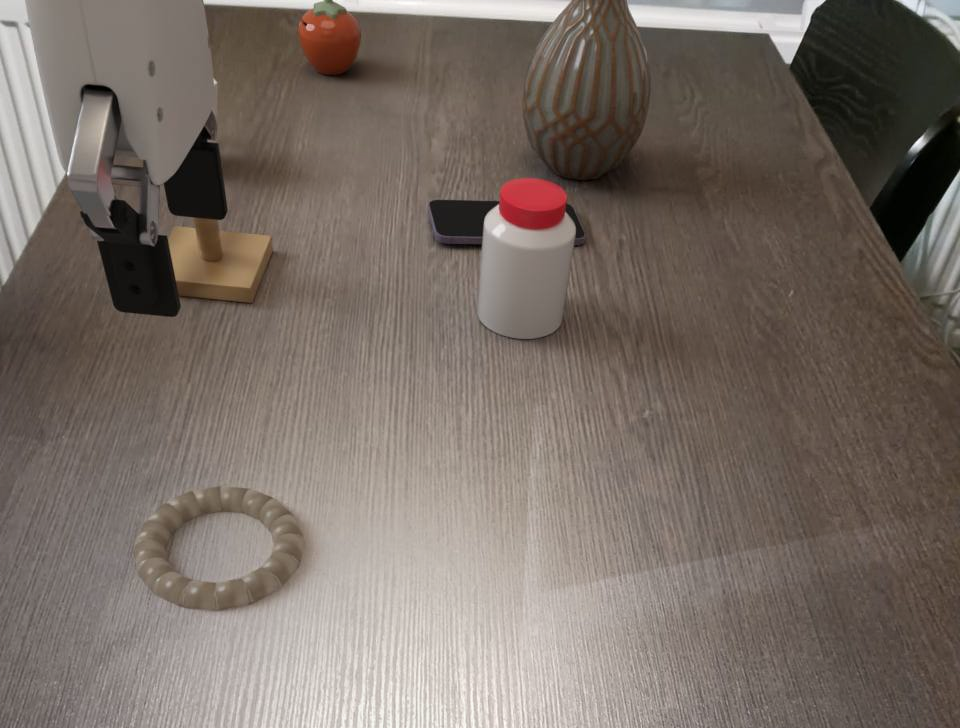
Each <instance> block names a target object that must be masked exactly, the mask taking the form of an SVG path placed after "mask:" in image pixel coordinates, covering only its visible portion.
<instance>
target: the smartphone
mask: <svg viewBox="0 0 960 728" xmlns="http://www.w3.org/2000/svg"><path fill="white" fill-rule="evenodd" d="M498 204H499V200H479V199H478V200H476V199H474V200H471V199H432V200H430V201H429V202H428V205H427V214H428V217H429V220H430V224H431V229H432V232H433V236H434V239H435V240H436V241H437V242H439V243H440V244H441V243H442V244H447V245H482V239H483V226H484V219H485V217H486V215H487V213H488V212H489V211H490V210H491V209H492V208H494V207H495V206H497V205H498ZM565 211H566V213H567V214H568V215H569V216H570V217H571V219H572V220H573V221H574V223H575V226H576V236H575V243H574V247H575V246H576V245H577V246H581V244H582V245H583V244H584V243H585V240H586V232H585V229H584V227H583V225H582V223H581V220H580V218H579V216H578V214H577V212H576V209H575V207H574V206H573V205H572V204H570V203H567V204H566V210H565Z"/></svg>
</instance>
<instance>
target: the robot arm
mask: <svg viewBox="0 0 960 728" xmlns="http://www.w3.org/2000/svg"><path fill="white" fill-rule="evenodd" d="M24 3H25V10H26V15H27V21H28V25H29V31H30V35H31V40H32V45H33V46H32V47H33V52H34V56H35V60H36V65H37V70H38V75H39V80H40V83H41V88H42V93H43V98H44V103H45V107H46V110H47V115H48V120H49V124H50V128H51V132H52V136H53V140H54V144H55V145H54V146H55V149H56V152H57V156H58V160H59V162H60V165H61V167H62V169H63V171H64V172H65V173H66V182H67V186H68V187H67V188H68V189H69V191H70V193H71V195H72V197H73V198H74V199H75V201H76V204H77V205H78V207H79V208H80V210H81V211H79V214H80V217H81V219H82V220H83V222H84V225H85V226H86V227H87V228H89V233H90V236H91V238H92V240H93V241H94V242H96V243H97V246H98V251H99V255H100V258H101V263H102V266H103V271H104V274H105V277H106V281H107V286H108V289H109V295H110V297H111V302H112V305H113V308H114V309H115V310H117V311H118V312H121V313H123V314H124V313H125V314H136V315H145V316H146V315H147V316H156V317H167V318H174V317H175V318H176V317H177V316H178V314H179V312H180V310H181V305H182V304H181V300H180V296H179V294H178V289H177V284H176V279H175V274H174V268H173V263H172V258H171V253H170V248H169V243H168V238H169V237H168V235H166V234H159V223H160V222H159V221H160V220H159V219H160V197H161V196H160V191H161V185H163V188H164V193H165V198H166V199H165V200H166V204H167V208H168V211H169V213H170V214H172V215H173V216H176V217H184V218H185V217H186V218H193V217H194V218H204V219H214V220H218V221H222V220H224V219H225V218H226V216H227V214H228V211H229V209H228V202H227V195H226V187H225V182H224V181H225V180H224V173H223V165H222V159H221V151H220V145H219V143H218V142H216V143H211V142H207V140H215V139H216V140H217V137H218V121H217V122H216V118H215V116H214V114H213V112H212V107H213V102H214V79H215V78H214V67H213V58H212V49H211V43H210V34H209V29H208V28H209V27H208V23H207V22H208V21H207V15H206V10H205V8H206V7H205V3H204V0H24ZM216 136H217V137H216ZM115 157H123V158H124V157H125V158H132V159H133V158H134V159H138V160H139V161H142V163H143V164H142V166H133V165H123V164H114V160H115ZM115 185H116V186H124V187H125V186H126V187H134V188H136V187H137V188H138V212H137V211H136V210H135V209H134V208H133V207H132V206H131V205H130V204H129V203H128V202H127V201H126V200H124V199H118V198H117V196H116V193H117V190H116V189H115V187H114V186H115ZM194 218H193V219H194Z"/></svg>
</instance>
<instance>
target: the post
mask: <svg viewBox="0 0 960 728" xmlns="http://www.w3.org/2000/svg"><path fill="white" fill-rule="evenodd" d="M192 218H193V223H194V227H189V226H188V227H187V226H179V225H175V226H174V227H173V228H172V230H171V232H170V234H169V236H168V237H167V238H168V243H169V248H170V253H171V258H172V263H173V268H174V274H175V279H176V284H177V289H178V294H179V297H189V298H196V299H197V298H198V299H208V300H218V301H228V302H238V303H249V304H253V302H254V299H255V298H256V294H257V292H258V290H259V287H260V284H261V282H262V279H263V276H264V274H265V272H266V269H267V266H268V264H269V262H270V260H271V259H270V258H271V256H272V254H273V251H274V247H273V239H272V235H267V234H255V233H246V232H237V231H227V230H220V226H219V220H214V219H204V218H194V217H192Z"/></svg>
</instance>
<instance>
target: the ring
mask: <svg viewBox="0 0 960 728" xmlns="http://www.w3.org/2000/svg"><path fill="white" fill-rule="evenodd" d="M217 512H228V513H229V512H230V513H239V514H240V513H241V514H244V515H245V516H249V517H250V518H253V519H256V520H258V521H259V522H260V523H262V525H264V526H265V528H266V529H267V530H268V531H269V532H270V534H271V535H270V536H271V538H272V542H273V546H272V550H271V552H270V556H269V557H268V558H266V560H265V561H264V562H263V563H262V564H261V565H260V567H259V568H257V569H254V570H253V571H251V572H249V573H247V574H245V575H243V576H241V577H239V578H234V579H227V580H223V581H218V582H217V581H216V582H214V581H204V580H194V579H192V578H189V577H188V576H185V575H183V574H181V573H178V572H177V571H176V570H175V569H174V567H172V566H171V564H170V563H169V561H168V556H167V551H166V549H167V547H168V545H169V542H170V539H171V536H172V535H173V534H174V533H175V532H176V531H178V529H179V528H180V527H182V525H183V524H184V523H186V522H188V521H191V520H193V519H195V518H197V517H199V516H202V515H206V514H212V513H217ZM304 550H305V538H304V536H303V533H302V528H301V526H300V523H299V520H298V518H297V516H295V515H294V514H293V513H292V512H291V511H290V510H289V509H288V508H287V507H286V506H285V505H284V504H283V503H282V502H281V501H280V500H279V499H278V498H276V497H272V496H270V495H269V494H266V493H263V492H261V491H258V490H256V489H253V488H249V487H238V486H229V485H228V486H227V485H217V486H211V487H205V488H198V489H194V490H189V491H188V492H187V491H186V492H185V493H183V494H181V495H179V496H177V497H174V498H172V499H170V500H168V501H165V502H164V503H162V504H161V505H160V506H159V508H157V509H156V510H155V511H154V512H153V513H152V514H151V515H150V516H149V517H147V518H146V520H145V521H144V522H143V523H142V525H141V527H140V530H139V533H138V535H137V537H136V539H135V542H134V544H133V557H134V562H135V569H136V570H135V571H136V574H137V576H138V578H140V580H141V581H142V582H143V583H144V584H145V585H146V587H148V589H149V590H150V591H151V592H152V593H153V595H154V596H157V597H158V598H160V599H163V600H165V601H168V602H170V603H172V604H174V605H176V606H178V607H180V608H185V609H195V610H205V611H215V612H217V611H223V610H229V609H233V608H239V607H243V606H244V607H245V606H249V605H252V604H254V603H257V602H259V601H260V600H262V599H264V598H266V597H268V596H270V595H271V594H273V593H275V592H277V591H279V590H280V589H282V588H283V586H284V585H285V584H286V583H288V581H289V579H290V578H292V576H293V575H294V574H295V573H296V572H297V571H298V570H299V568H300V565H301V561H302V557H303V553H304Z"/></svg>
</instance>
